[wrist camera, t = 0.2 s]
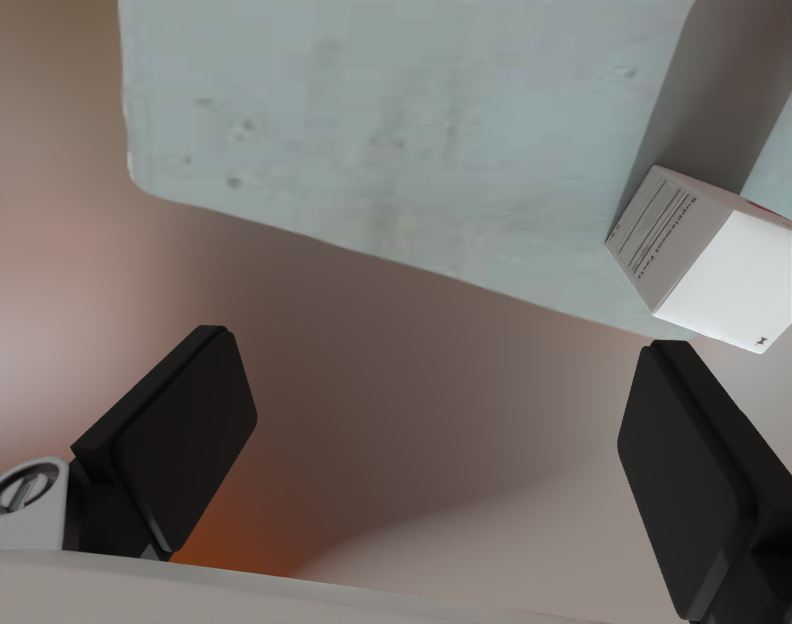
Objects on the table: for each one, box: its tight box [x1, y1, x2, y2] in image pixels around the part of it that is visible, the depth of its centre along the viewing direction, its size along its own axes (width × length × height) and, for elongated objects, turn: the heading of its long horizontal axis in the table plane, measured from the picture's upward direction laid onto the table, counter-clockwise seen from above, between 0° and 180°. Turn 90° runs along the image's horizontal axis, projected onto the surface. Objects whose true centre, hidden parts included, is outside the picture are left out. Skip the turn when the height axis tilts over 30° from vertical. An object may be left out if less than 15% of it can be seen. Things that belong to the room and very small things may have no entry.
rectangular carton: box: [605, 165, 792, 354], centre depth 36 cm, size 9×9×15 cm
